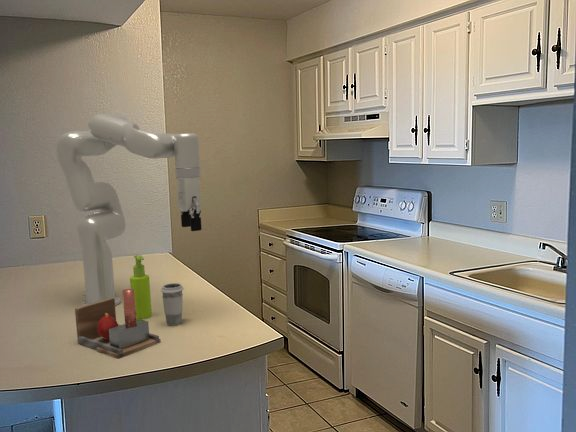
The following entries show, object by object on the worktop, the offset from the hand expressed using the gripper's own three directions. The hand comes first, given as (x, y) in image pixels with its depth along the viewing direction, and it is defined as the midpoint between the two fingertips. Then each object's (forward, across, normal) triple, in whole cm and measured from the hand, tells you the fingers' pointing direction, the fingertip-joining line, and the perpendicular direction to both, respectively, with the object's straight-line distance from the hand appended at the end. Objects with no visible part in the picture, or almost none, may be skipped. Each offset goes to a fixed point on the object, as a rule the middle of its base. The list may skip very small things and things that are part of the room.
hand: (191, 228), depth 175 cm
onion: (+28, +7, -28) cm, 41 cm away
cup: (+28, +3, -8) cm, 30 cm away
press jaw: (+27, +16, -24) cm, 40 cm away
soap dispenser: (+28, -9, -15) cm, 33 cm away
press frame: (+28, +11, -27) cm, 40 cm away
